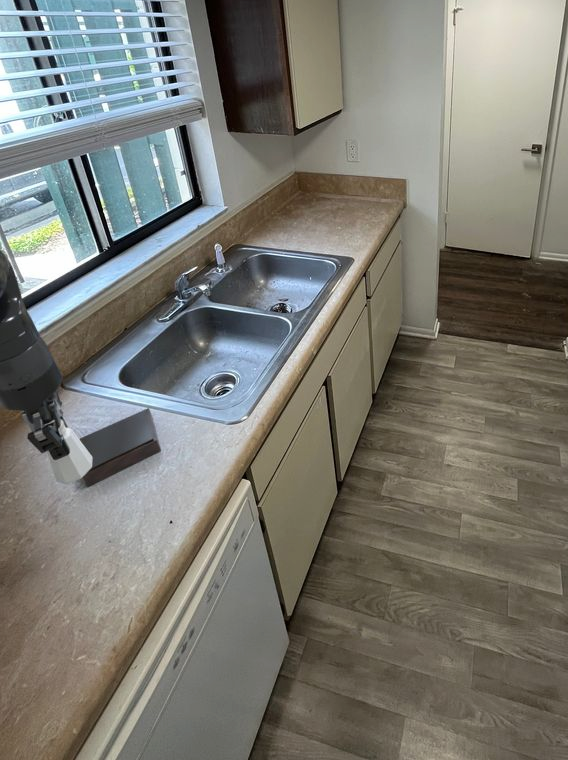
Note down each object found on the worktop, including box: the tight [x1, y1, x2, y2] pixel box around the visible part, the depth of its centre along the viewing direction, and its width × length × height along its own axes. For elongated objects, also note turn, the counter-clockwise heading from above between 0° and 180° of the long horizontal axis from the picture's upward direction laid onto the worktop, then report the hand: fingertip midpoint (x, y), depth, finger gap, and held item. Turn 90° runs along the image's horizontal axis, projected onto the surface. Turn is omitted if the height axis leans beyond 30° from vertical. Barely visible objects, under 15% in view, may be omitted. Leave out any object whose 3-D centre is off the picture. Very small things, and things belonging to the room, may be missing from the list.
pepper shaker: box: [45, 420, 93, 485], centre depth 73 cm, size 5×5×11 cm
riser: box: [79, 407, 162, 488], centre depth 98 cm, size 14×11×4 cm
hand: (62, 445), depth 72 cm, fingers closed on pepper shaker, 3 cm apart
